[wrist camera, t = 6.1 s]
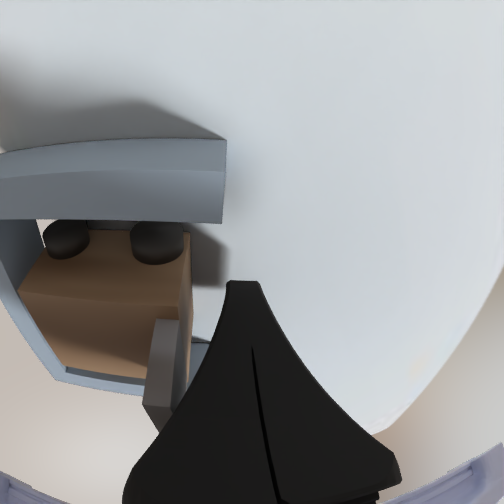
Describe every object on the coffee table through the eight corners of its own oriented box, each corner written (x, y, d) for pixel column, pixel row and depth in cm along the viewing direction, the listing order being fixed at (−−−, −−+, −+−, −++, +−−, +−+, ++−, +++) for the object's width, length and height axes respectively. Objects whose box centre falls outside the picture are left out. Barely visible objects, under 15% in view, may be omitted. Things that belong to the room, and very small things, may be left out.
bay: (215, 357, 14) (215, 401, 12) (68, 341, 13) (55, 380, 11) (226, 140, 7) (225, 172, 5) (-1, 153, 6) (-45, 185, 4)
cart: (194, 323, 12) (187, 449, 8) (88, 314, 11) (55, 425, 7) (189, 216, 9) (161, 384, 4) (55, 214, 8) (-29, 341, 4)
